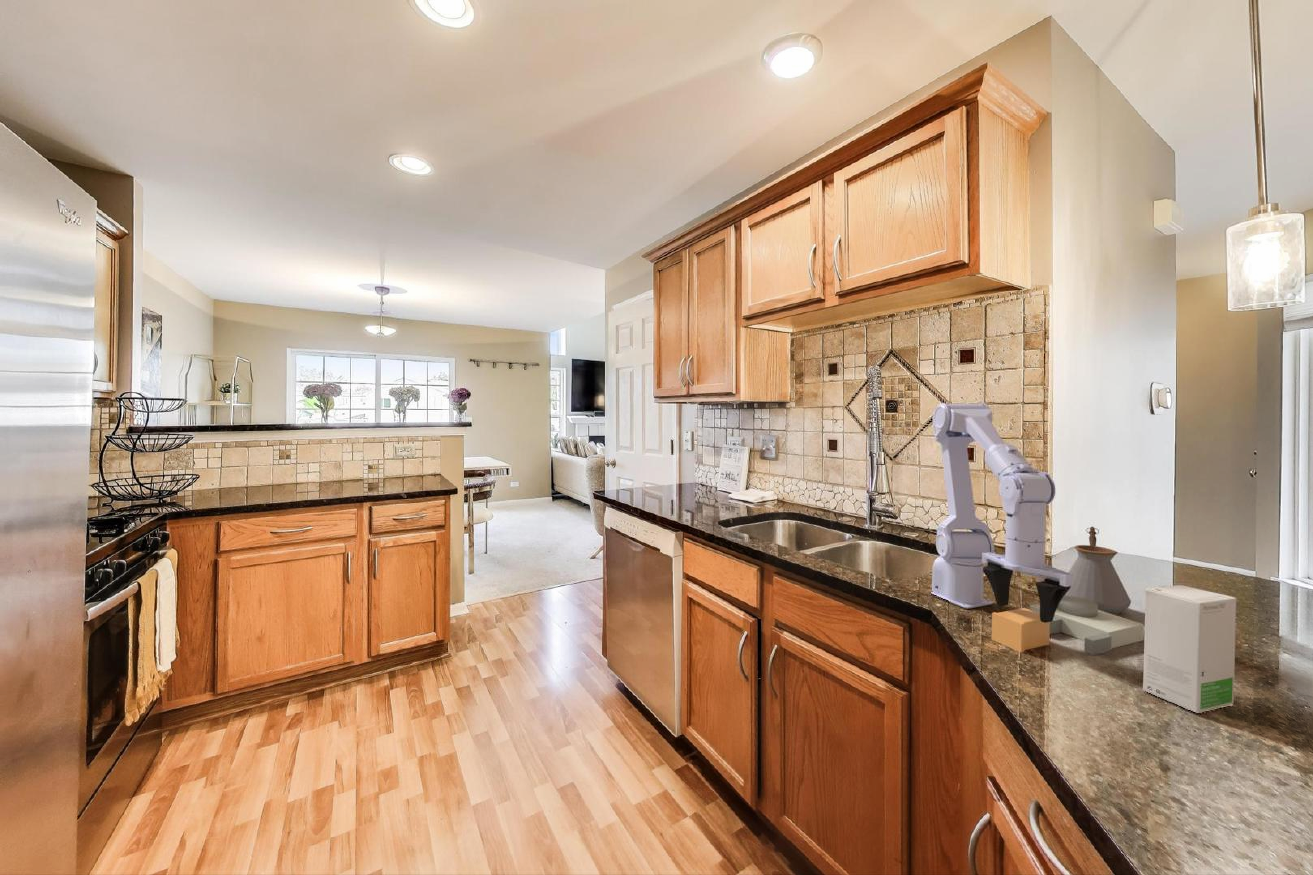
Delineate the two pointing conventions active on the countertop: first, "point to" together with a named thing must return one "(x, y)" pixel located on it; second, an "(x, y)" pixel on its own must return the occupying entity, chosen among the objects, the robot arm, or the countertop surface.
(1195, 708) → the skincare box
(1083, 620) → the grey stand
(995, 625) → the orange lidded tapered block
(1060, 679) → the countertop surface
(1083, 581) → the grey faceted tapered shape
